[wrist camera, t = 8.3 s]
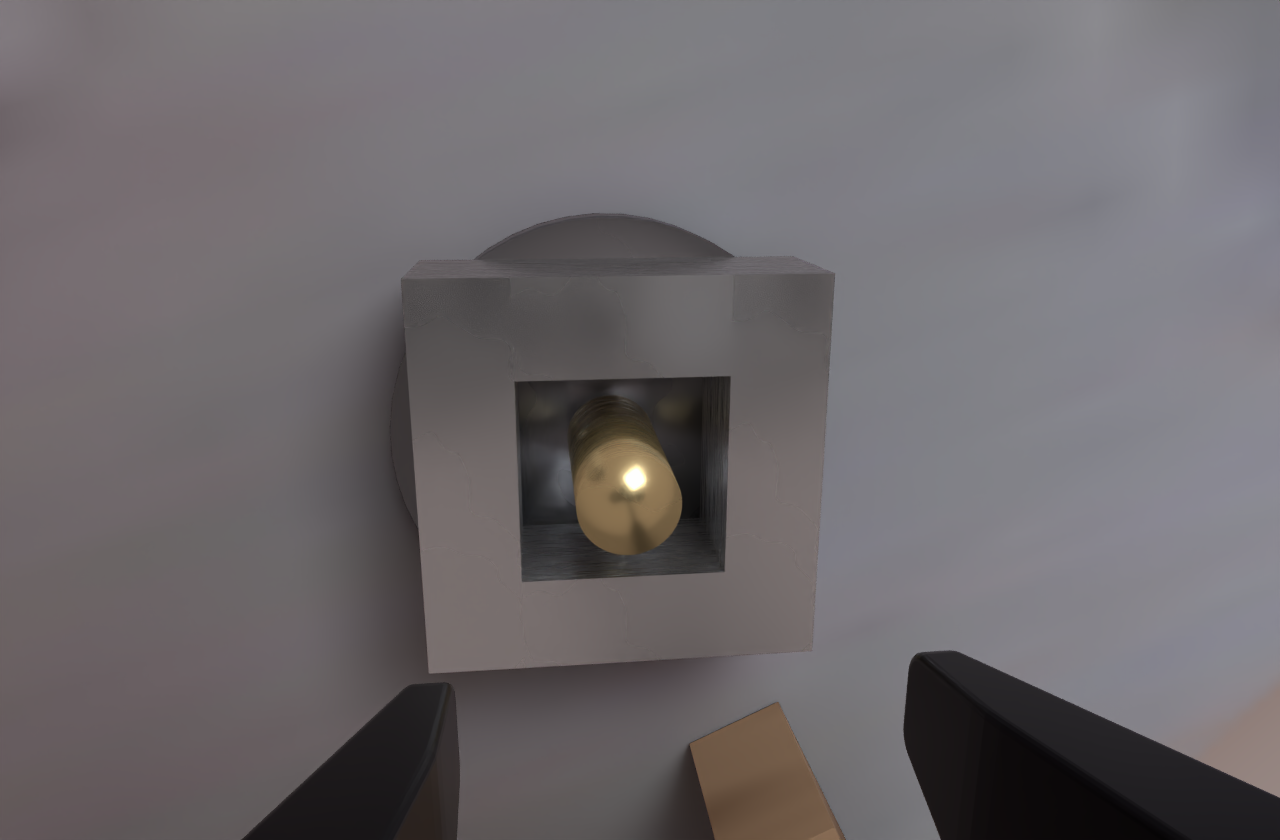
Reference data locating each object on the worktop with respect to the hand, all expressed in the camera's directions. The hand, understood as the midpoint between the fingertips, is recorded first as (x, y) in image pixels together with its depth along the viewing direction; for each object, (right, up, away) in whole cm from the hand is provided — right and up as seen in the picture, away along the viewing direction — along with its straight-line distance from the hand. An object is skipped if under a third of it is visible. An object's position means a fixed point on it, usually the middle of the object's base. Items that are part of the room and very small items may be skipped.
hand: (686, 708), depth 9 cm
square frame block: (-1, +2, +8) cm, 9 cm away
